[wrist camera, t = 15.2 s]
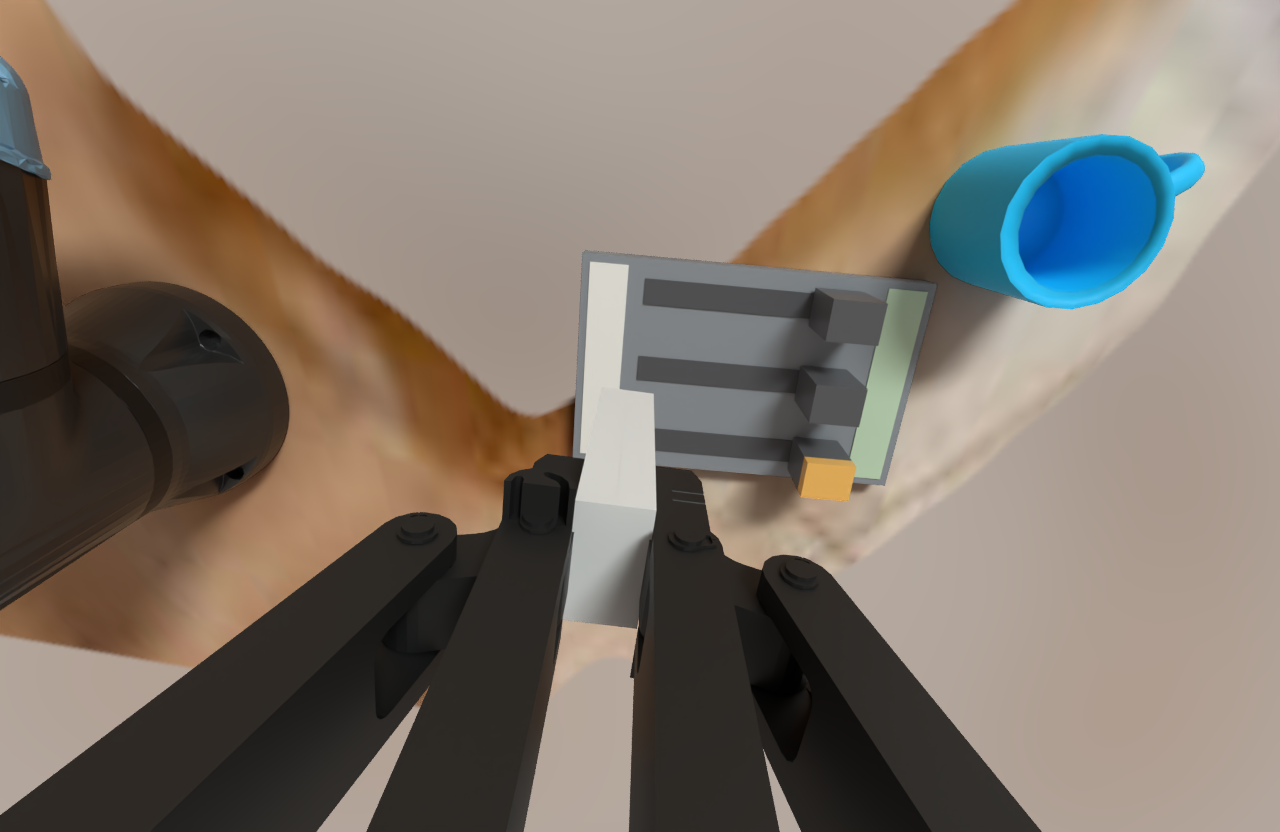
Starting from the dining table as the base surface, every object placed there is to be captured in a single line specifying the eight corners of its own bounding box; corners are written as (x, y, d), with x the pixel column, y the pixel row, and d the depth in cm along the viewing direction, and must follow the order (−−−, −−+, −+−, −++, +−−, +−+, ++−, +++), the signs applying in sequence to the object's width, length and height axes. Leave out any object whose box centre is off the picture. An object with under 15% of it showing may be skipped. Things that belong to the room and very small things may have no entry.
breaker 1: (808, 325, 37) (825, 341, 34) (815, 287, 36) (834, 299, 33) (855, 329, 37) (878, 346, 34) (863, 291, 37) (888, 303, 33)
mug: (945, 304, 39) (1016, 333, 31) (914, 180, 36) (984, 178, 28) (1140, 229, 37) (1267, 240, 29) (1123, 92, 34) (1257, 65, 26)
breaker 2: (794, 400, 39) (809, 423, 35) (800, 365, 38) (816, 384, 34) (839, 404, 39) (859, 427, 35) (846, 369, 38) (868, 389, 34)
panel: (575, 449, 43) (572, 458, 41) (585, 250, 38) (582, 252, 36) (877, 475, 43) (885, 486, 41) (927, 280, 38) (938, 284, 36)
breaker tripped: (787, 468, 41) (800, 497, 37) (793, 436, 40) (807, 462, 36) (830, 472, 41) (848, 501, 37) (837, 440, 40) (856, 467, 36)
